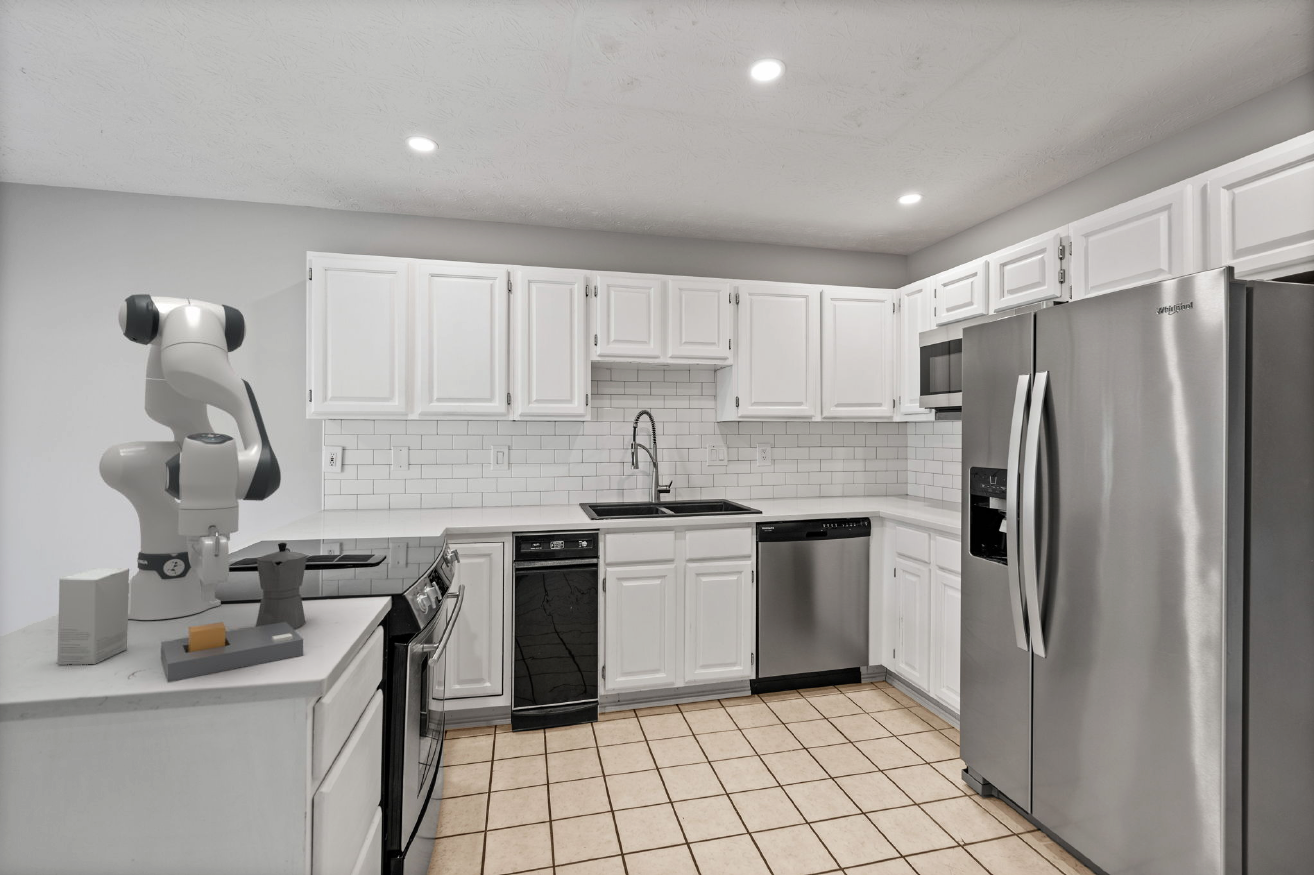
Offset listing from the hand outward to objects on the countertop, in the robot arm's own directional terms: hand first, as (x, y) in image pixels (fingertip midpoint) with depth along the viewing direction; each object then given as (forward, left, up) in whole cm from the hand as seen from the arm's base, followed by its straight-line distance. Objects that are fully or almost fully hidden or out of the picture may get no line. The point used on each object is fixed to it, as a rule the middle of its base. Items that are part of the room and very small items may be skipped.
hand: (207, 599), depth 112 cm
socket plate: (0, +4, -11) cm, 12 cm away
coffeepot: (-16, +15, -12) cm, 25 cm away
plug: (0, 0, -11) cm, 11 cm away
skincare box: (-15, -15, -12) cm, 24 cm away
